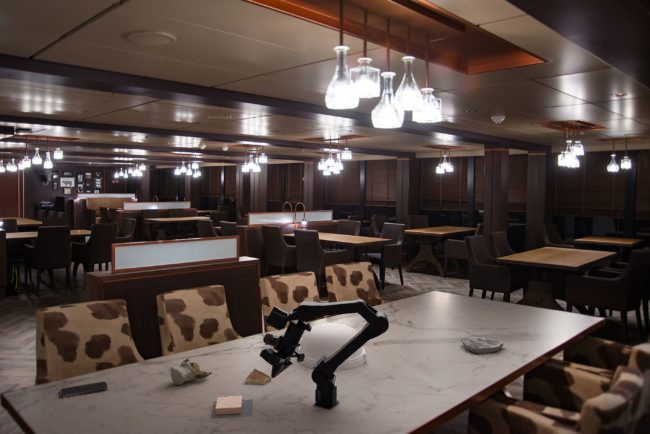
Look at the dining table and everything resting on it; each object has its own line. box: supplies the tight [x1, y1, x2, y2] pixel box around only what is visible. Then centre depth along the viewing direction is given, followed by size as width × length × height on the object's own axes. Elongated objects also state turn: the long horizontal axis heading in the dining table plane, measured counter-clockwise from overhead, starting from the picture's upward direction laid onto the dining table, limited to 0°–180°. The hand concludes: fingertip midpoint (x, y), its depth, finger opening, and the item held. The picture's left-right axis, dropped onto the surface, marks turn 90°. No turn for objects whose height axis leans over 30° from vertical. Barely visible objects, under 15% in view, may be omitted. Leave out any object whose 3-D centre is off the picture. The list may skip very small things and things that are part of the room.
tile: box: [216, 395, 243, 415], centre depth 164 cm, size 2×9×8 cm
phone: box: [59, 381, 108, 398], centre depth 179 cm, size 8×1×15 cm
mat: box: [210, 398, 254, 419], centre depth 164 cm, size 13×13×1 cm
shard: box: [244, 368, 273, 386], centre depth 191 cm, size 13×9×2 cm
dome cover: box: [295, 323, 368, 371], centre depth 215 cm, size 32×30×14 cm
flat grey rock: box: [460, 336, 504, 355], centre depth 230 cm, size 20×17×3 cm
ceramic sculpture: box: [170, 358, 212, 386], centre depth 189 cm, size 11×9×15 cm
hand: (272, 377), depth 169 cm, fingers closed
